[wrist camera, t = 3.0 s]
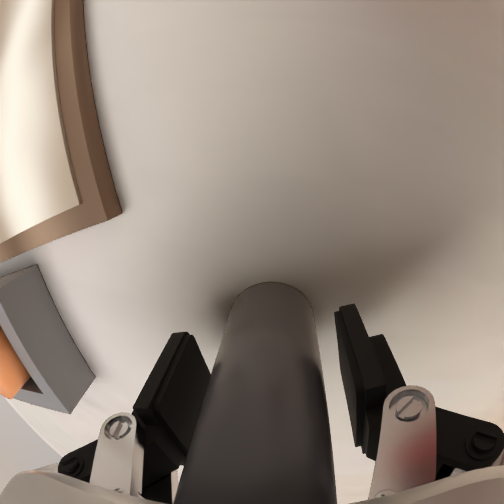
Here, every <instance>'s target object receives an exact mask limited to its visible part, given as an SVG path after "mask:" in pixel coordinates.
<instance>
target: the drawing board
mask: <svg viewBox="0 0 504 504" xmlns="http://www.w3.org/2000/svg"><path fill="white" fill-rule="evenodd" d="M120 214H122V211H121V208H120V205H119V201H118V198H117V195H116V191H115V188H114V184H113V181H112V177H111V173H110V169H109V166H108V162H107V158H106V154H105V150H104V146H103V141H102V137H101V132H100V128H99V123H98V118H97V113H96V108H95V103H94V97H93V92H92V86H91V79H90V73H89V65H88V58H87V49H86V39H85V28H84V14H83V0H0V263H1V262H3V261H6V260H8V259H10V258H12V257H15V256H17V255H19V254H22V253H24V252H26V251H29V250H31V249H33V248H36V247H38V246H41V245H43V244H46V243H48V242H51V241H53V240H56V239H58V238H61V237H64V236H66V235H69V234H72V233H74V232H77V231H80V230H82V229H85V228H88V227H91V226H93V225H96V224H99V223H102V222H105V221H108V220H110V219H112V218H114V217H116V216H118V215H120Z"/></svg>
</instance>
